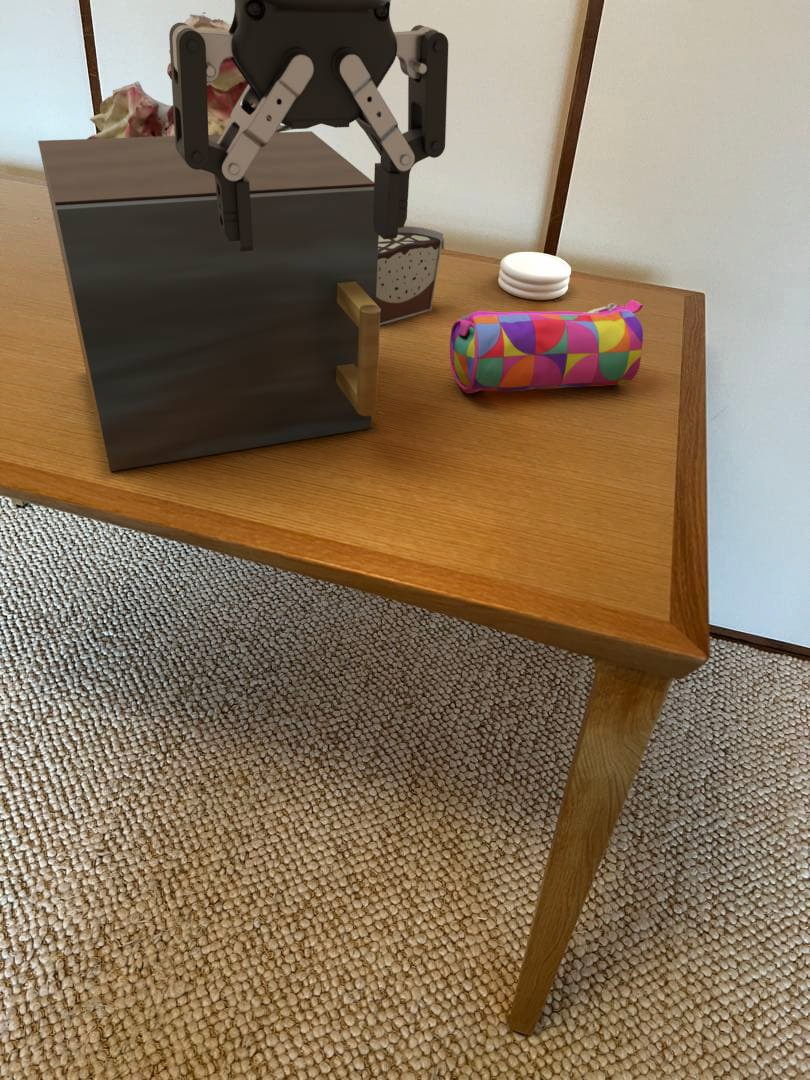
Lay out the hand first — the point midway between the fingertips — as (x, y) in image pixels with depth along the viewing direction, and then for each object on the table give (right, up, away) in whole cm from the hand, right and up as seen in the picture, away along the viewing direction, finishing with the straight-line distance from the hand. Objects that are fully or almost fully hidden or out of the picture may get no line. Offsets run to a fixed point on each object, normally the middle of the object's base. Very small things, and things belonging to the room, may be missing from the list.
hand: (316, 240), depth 46 cm
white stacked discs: (+23, +19, +70) cm, 77 cm away
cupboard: (-14, -2, +41) cm, 43 cm away
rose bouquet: (-22, +23, +71) cm, 78 cm away
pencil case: (+21, +1, +48) cm, 53 cm away
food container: (+3, +13, +61) cm, 63 cm away
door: (-9, -10, +31) cm, 34 cm away
